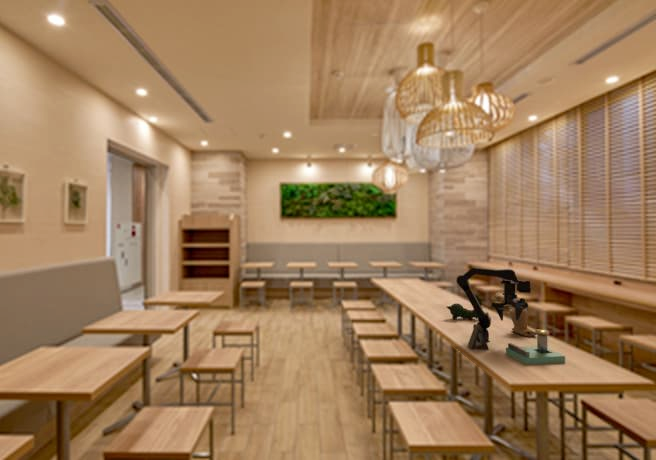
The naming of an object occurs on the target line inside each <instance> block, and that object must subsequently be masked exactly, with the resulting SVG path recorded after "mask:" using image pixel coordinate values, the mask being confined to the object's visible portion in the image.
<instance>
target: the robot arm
mask: <svg viewBox="0 0 656 460" xmlns="http://www.w3.org/2000/svg"><path fill="white" fill-rule="evenodd" d="M474 275H479V276H488V277H496V278H500V279H502V280H501V281H500V284H502V285H503V292H502V296H503V299H502V302H501V301H492V302H491V305H490V306H491V308H493V309H495V311H496V312H497V314H498V317H499V319H500V321H502V322H503V321H504V311H505V307H512V308H513V309H515V313H516V320H518V319H519V317H520V314H521V312H522V311H523V310H524V309H526V310H527V308H529V304H528V302H527V301H526V299H525V298H523V297H522V298H518V295H517V294H516V291H518V293H519V294H520V293H521V294H531V293H532V292H531V290H532V289H531V288H532V287H531V280H527V279H526V280H519V278H518V277H517V276H516V272H515V270H513V269H512V268H502V269H495V268H483V267H476V266H473V267H471V268H470V269H469V270H468V271H466V272H465V273H464V274H460V275H458V276H457V277H456V281H455V282H456V283H457V285H458V286H459V287H460V288H461V290H462V291H463V292H464V293H465V295H466V297H467V299H468V302H470V304H471V306H472V308H473V309H474V310H475V312H476V314H477V317H478V318H477V320H478V322H477V323H476V325H477V324H478V325H479V326H481V327H482V328H483V335H484V337H485V340H486V343H487V342H489V343H490V334H489V330H488V329H489V328H490V327H491V323H492V317H491V316H490V315H489V311H484V309H482V308H483V307H482V305H481V306H480V304H479V302H478V300H477V299H476V297H475V295H474V294H475V293H474V292H473V290H472V288H471V284H470V281H469V279H471V278H472V277H473V276H474ZM481 307H482V308H481ZM478 325H477V326H478ZM478 342H479V343H480V340H479V336H478V339H477V343H478Z"/></svg>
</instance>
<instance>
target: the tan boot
mask: <svg viewBox="0 0 656 460" xmlns="http://www.w3.org/2000/svg"><path fill="white" fill-rule="evenodd" d="M509 317H510V319H511V322H512V324H513V327H512V328H511V330H512V331H513V332H514V333H517V334H519V335H522V336H524V337H534V336H537V333H536V332H535V331H533V330H532V329H530V328H528V317H529V316H528V311H527V308H526V309H524V310H523V311H522V312H521V314H520V317H519V319H518V320H516V313H515V308H512V309H510V310H509Z"/></svg>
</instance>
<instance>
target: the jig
mask: <svg viewBox="0 0 656 460" xmlns="http://www.w3.org/2000/svg"><path fill="white" fill-rule="evenodd" d="M507 345H508V346H507V347H505V354H506V355H508V356H509V357H512V358H513V359H515V360H517V361H520V363H523V364H524V365H541V364H559V363H560V364H561V363H566V356H565V355H563V354H562V353H559V352H556V351H555V350H553V349H550V348H548V347H547V353H544V354H541V353H539V352H537V345H536V346H535V345H534V346H518V345H515V344H513V343H507Z"/></svg>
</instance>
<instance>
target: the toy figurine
mask: <svg viewBox="0 0 656 460" xmlns="http://www.w3.org/2000/svg"><path fill="white" fill-rule="evenodd" d="M474 295H475V297H476V299H477V300H478V302H479V304H480V306H481V308H482V310H484V309H483V307H482V305H484V303H483V301H484V299H482V297H480V296H479V294H476V293H474ZM445 308H447V309H448V310H449V312H450V314H451V315H452V317H451V318H452V319H453V320H457V319H458V318H461V319H463V320H464V321H465V320H467V319H468V320H469V321H472V320H473V318H475V320H476V319H477V320H478V317H477V314H476V312H475V310H474V308H473V309H468V308H465V307H464V306H463V305H462V304H460V303H453V304H452V305H449V306H446V307H445Z"/></svg>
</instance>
